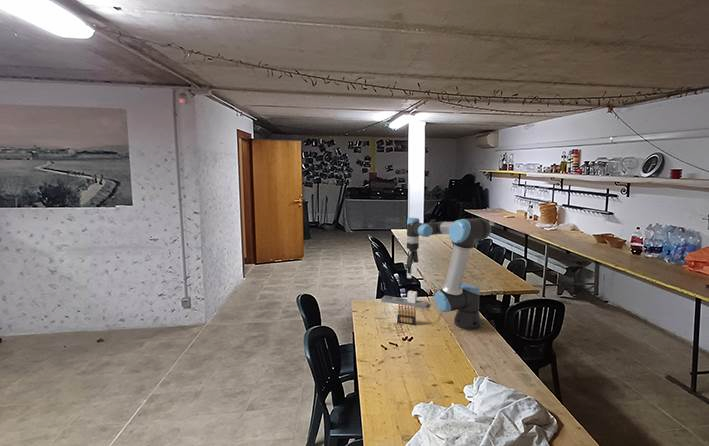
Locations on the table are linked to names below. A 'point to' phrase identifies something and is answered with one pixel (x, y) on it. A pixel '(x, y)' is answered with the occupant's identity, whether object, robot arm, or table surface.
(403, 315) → the ammunition clip
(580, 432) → the table surface
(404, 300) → the strip
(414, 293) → the charger
